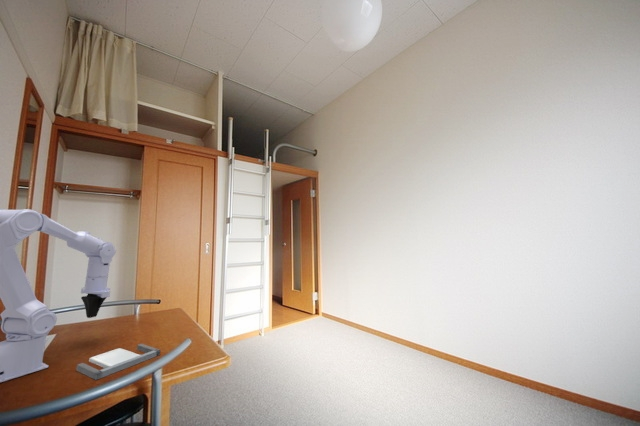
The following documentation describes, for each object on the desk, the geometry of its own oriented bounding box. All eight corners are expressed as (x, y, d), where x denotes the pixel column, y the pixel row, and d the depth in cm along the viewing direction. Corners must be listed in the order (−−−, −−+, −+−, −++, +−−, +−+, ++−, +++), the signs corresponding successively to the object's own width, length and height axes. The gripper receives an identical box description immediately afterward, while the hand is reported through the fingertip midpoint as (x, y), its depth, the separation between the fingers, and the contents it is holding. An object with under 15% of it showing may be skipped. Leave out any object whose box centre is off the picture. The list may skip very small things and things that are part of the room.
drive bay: (95, 380, 63) (96, 373, 63) (76, 370, 67) (77, 364, 67) (160, 354, 77) (160, 349, 78) (140, 348, 82) (141, 343, 82)
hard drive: (144, 355, 75) (120, 347, 80) (112, 367, 67) (89, 357, 72) (143, 361, 75) (120, 352, 80) (111, 373, 67) (88, 363, 72)
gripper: (122, 276, 86) (117, 317, 84) (100, 273, 92) (95, 311, 90) (97, 279, 80) (91, 322, 78) (75, 275, 86) (69, 316, 84)
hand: (91, 317), depth 84 cm, fingers closed
